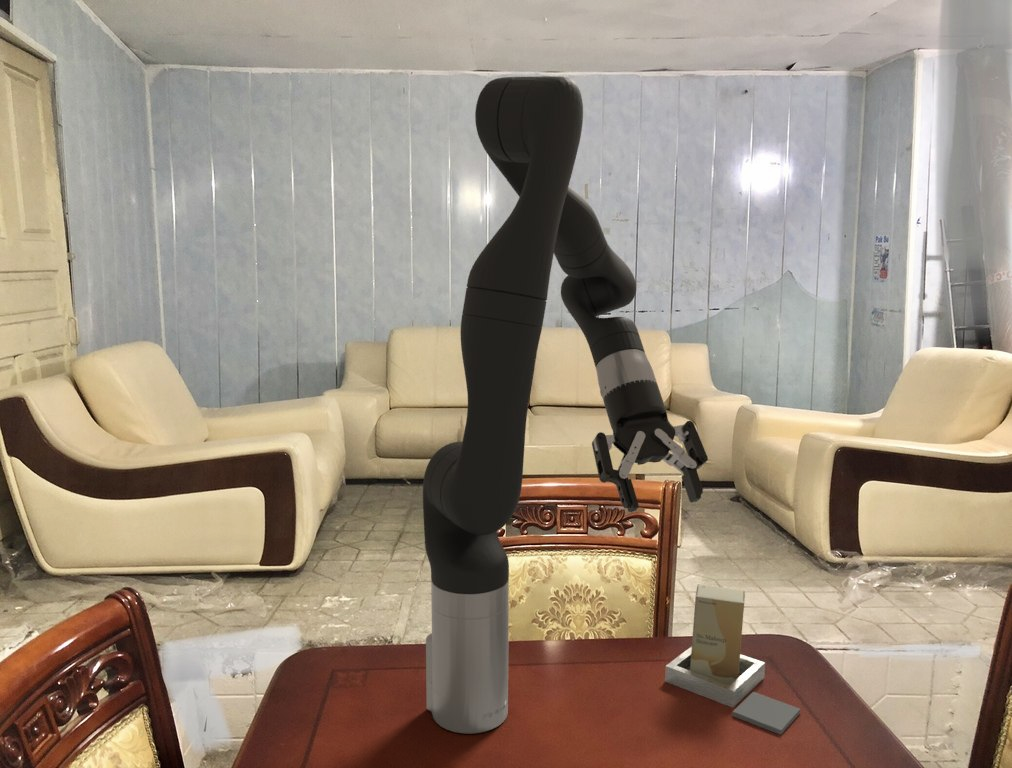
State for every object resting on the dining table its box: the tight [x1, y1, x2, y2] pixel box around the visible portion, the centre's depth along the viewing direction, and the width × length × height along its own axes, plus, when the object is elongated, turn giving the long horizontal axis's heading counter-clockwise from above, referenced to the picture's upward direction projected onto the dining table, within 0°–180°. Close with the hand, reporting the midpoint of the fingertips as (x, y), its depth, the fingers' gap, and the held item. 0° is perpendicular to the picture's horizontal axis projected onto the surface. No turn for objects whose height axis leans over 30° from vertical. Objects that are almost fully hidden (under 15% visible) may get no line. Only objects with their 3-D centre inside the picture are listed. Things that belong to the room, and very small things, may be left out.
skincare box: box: [690, 583, 746, 685], centre depth 105 cm, size 6×4×12 cm
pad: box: [732, 691, 801, 736], centre depth 98 cm, size 6×6×1 cm
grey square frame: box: [664, 645, 766, 709], centre depth 106 cm, size 10×10×2 cm
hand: (665, 505), depth 101 cm, fingers open, 8 cm apart
